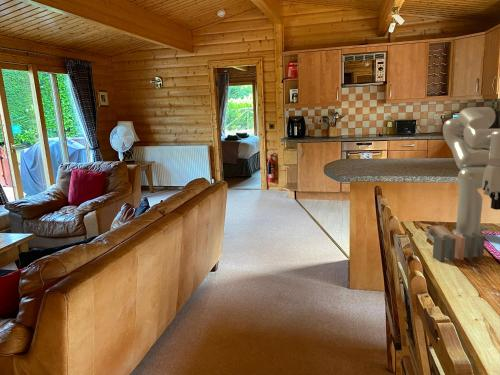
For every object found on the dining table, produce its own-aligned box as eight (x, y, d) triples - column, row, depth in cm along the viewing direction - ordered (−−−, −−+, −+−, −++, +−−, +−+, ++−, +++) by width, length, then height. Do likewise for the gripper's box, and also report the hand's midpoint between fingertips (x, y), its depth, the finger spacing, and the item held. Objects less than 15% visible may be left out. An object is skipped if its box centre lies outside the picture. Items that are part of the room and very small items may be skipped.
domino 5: (473, 253, 156) (475, 232, 154) (483, 257, 151) (485, 236, 150) (470, 253, 156) (472, 232, 154) (479, 258, 151) (481, 236, 149)
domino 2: (445, 256, 154) (447, 234, 152) (454, 260, 149) (455, 238, 148) (442, 256, 154) (443, 235, 152) (450, 261, 149) (452, 239, 147)
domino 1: (436, 257, 154) (437, 235, 152) (444, 261, 149) (445, 239, 147) (432, 257, 153) (434, 236, 152) (440, 262, 149) (442, 240, 147)
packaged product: (424, 224, 181) (446, 224, 180) (423, 234, 182) (446, 234, 181) (437, 237, 163) (462, 237, 162) (437, 247, 164) (461, 248, 163)
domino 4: (464, 254, 156) (466, 233, 154) (473, 258, 151) (475, 236, 149) (461, 254, 155) (462, 233, 154) (469, 259, 150) (471, 237, 149)
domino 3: (455, 254, 155) (456, 233, 153) (463, 259, 150) (465, 237, 148) (451, 255, 155) (453, 234, 153) (459, 259, 150) (461, 238, 148)
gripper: (509, 160, 152) (504, 205, 155) (475, 162, 150) (471, 207, 153) (525, 162, 144) (520, 209, 148) (490, 165, 142) (485, 212, 146)
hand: (495, 208), depth 151 cm, fingers closed
